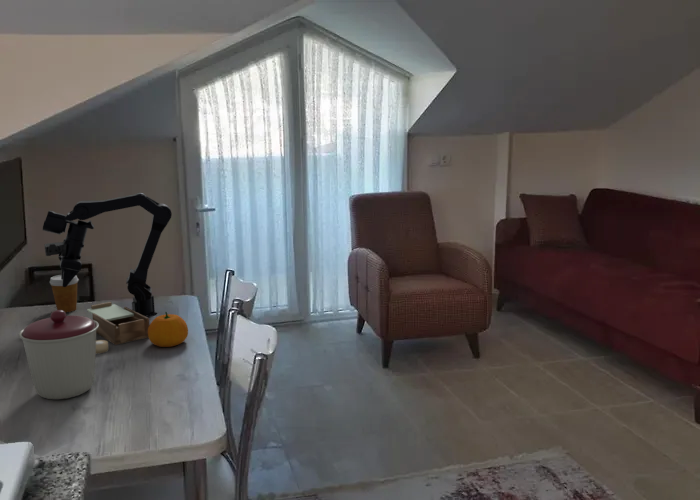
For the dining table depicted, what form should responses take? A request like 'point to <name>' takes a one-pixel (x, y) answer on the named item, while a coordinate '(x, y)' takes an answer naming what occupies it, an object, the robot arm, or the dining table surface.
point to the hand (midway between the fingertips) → (63, 283)
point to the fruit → (167, 330)
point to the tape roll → (101, 346)
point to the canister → (61, 354)
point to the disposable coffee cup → (64, 293)
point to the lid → (109, 311)
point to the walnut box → (123, 328)
